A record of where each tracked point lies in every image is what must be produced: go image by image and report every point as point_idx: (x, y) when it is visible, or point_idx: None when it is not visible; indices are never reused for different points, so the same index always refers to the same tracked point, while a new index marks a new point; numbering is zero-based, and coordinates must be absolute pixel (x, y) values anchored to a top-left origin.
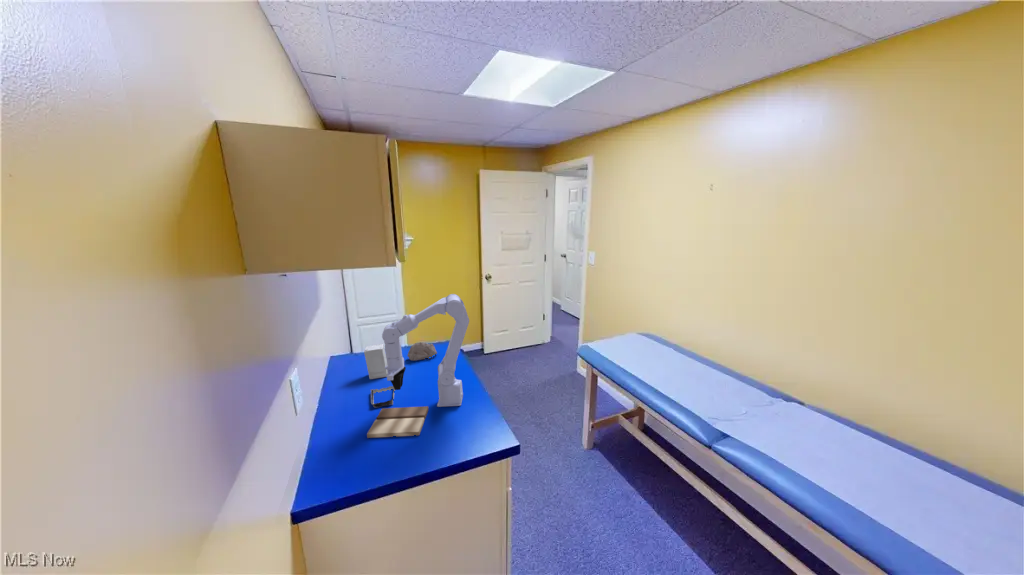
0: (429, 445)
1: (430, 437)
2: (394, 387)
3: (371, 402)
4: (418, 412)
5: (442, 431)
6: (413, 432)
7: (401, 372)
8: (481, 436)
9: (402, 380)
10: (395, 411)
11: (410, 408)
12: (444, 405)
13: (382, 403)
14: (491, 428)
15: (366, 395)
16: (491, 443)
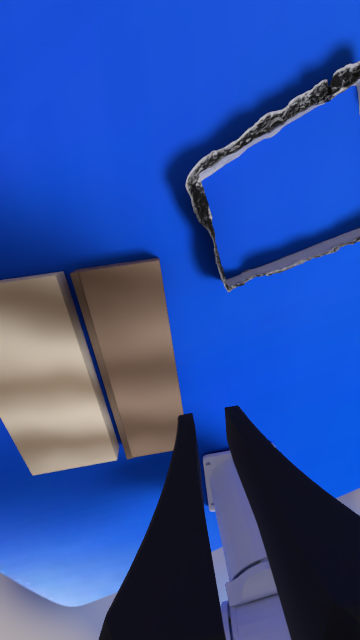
0: (7, 497)
1: (42, 488)
2: (177, 436)
3: (211, 153)
4: (144, 432)
5: (78, 504)
6: (26, 459)
7: (296, 637)
8: (82, 572)
9: (250, 497)
10: (141, 342)
11: (169, 394)
12: (205, 477)
13: (212, 233)
14: (116, 578)
15: (341, 29)
16: (63, 589)
